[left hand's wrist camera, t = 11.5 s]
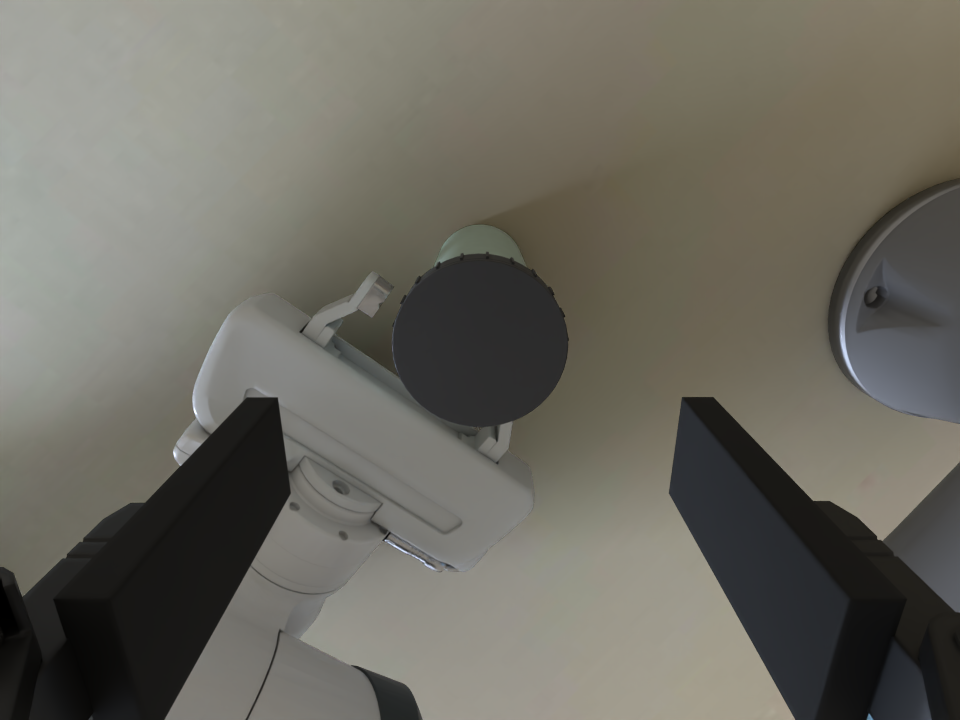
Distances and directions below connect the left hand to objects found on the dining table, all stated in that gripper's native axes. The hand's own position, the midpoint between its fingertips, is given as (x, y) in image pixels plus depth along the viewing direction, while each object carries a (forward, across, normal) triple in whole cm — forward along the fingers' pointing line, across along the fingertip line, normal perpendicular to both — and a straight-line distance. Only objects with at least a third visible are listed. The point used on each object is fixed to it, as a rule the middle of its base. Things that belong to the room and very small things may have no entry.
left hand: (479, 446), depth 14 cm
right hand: (+17, +1, +2) cm, 17 cm away
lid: (+8, 0, 0) cm, 8 cm away
